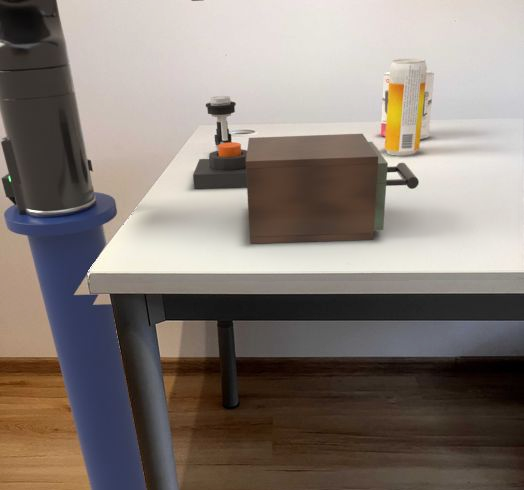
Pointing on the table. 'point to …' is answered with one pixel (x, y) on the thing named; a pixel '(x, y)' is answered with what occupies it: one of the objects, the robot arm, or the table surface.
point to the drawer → (389, 184)
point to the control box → (221, 171)
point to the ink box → (425, 106)
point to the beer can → (405, 106)
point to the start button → (229, 149)
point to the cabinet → (311, 188)
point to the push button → (221, 117)
